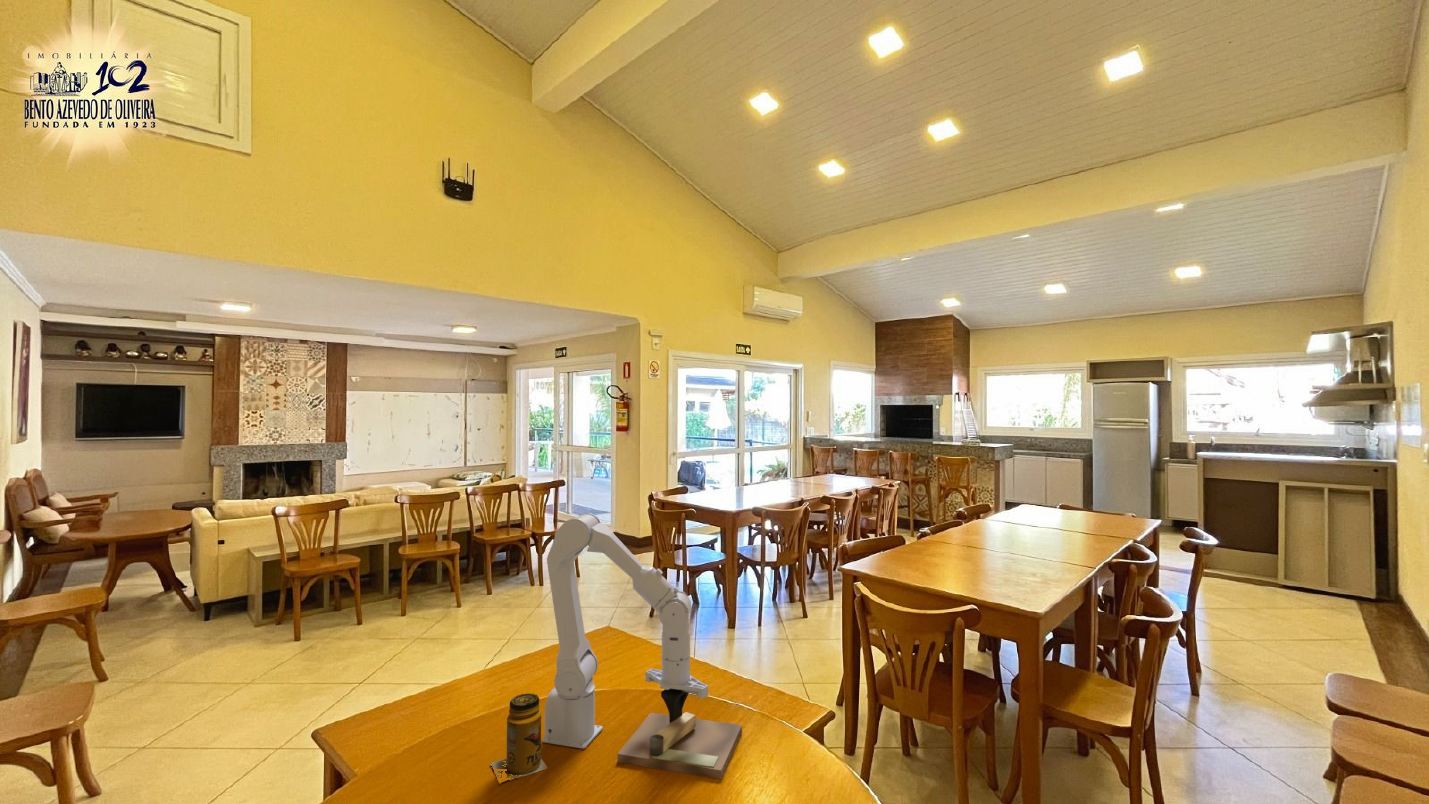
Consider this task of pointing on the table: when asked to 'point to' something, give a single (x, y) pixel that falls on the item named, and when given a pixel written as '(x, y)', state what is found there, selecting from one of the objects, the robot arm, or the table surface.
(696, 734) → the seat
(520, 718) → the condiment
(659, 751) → the leg
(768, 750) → the table surface
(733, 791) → the table surface
